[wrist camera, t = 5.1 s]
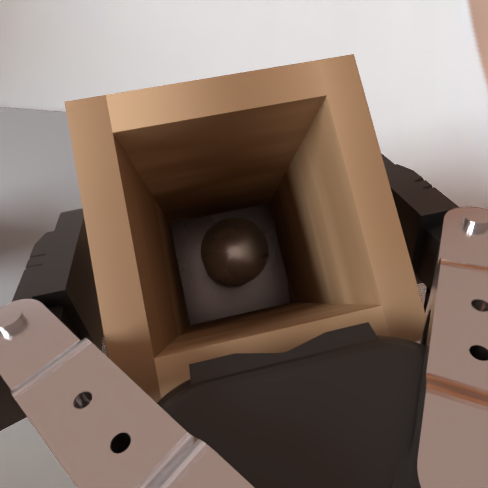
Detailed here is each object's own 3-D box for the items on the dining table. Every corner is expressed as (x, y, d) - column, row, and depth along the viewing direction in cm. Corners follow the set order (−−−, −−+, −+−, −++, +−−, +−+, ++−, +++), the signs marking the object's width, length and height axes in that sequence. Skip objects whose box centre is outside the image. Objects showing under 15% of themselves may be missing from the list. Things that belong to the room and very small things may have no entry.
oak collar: (174, 349, 16) (117, 414, 7) (147, 208, 16) (64, 102, 8) (315, 316, 16) (431, 337, 7) (282, 182, 17) (353, 54, 8)
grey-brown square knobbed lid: (167, 360, 17) (146, 386, 12) (138, 205, 17) (107, 168, 12) (322, 324, 17) (364, 334, 12) (286, 176, 18) (313, 131, 13)
